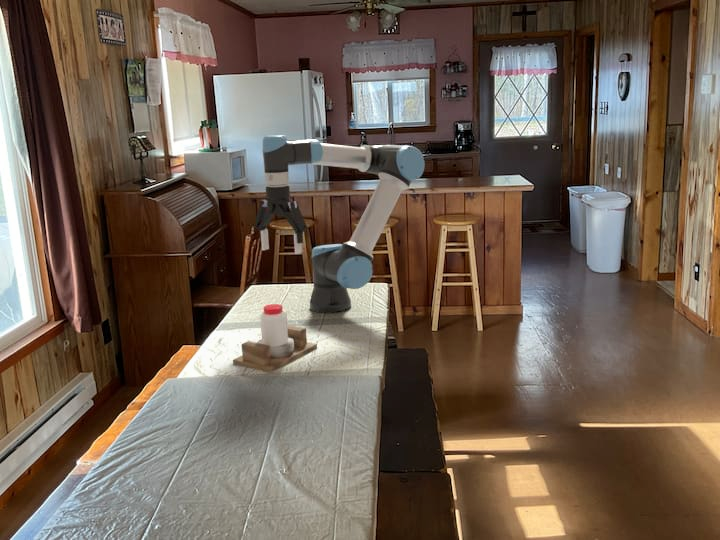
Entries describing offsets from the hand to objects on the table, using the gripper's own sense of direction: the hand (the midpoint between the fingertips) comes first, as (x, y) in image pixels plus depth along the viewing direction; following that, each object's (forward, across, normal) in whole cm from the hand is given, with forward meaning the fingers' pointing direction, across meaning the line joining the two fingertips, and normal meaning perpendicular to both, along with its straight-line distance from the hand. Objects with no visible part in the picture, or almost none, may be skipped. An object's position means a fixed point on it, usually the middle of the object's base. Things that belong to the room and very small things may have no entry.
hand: (281, 251), depth 219 cm
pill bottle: (+23, +12, -20) cm, 33 cm away
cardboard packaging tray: (+27, +12, -20) cm, 35 cm away
